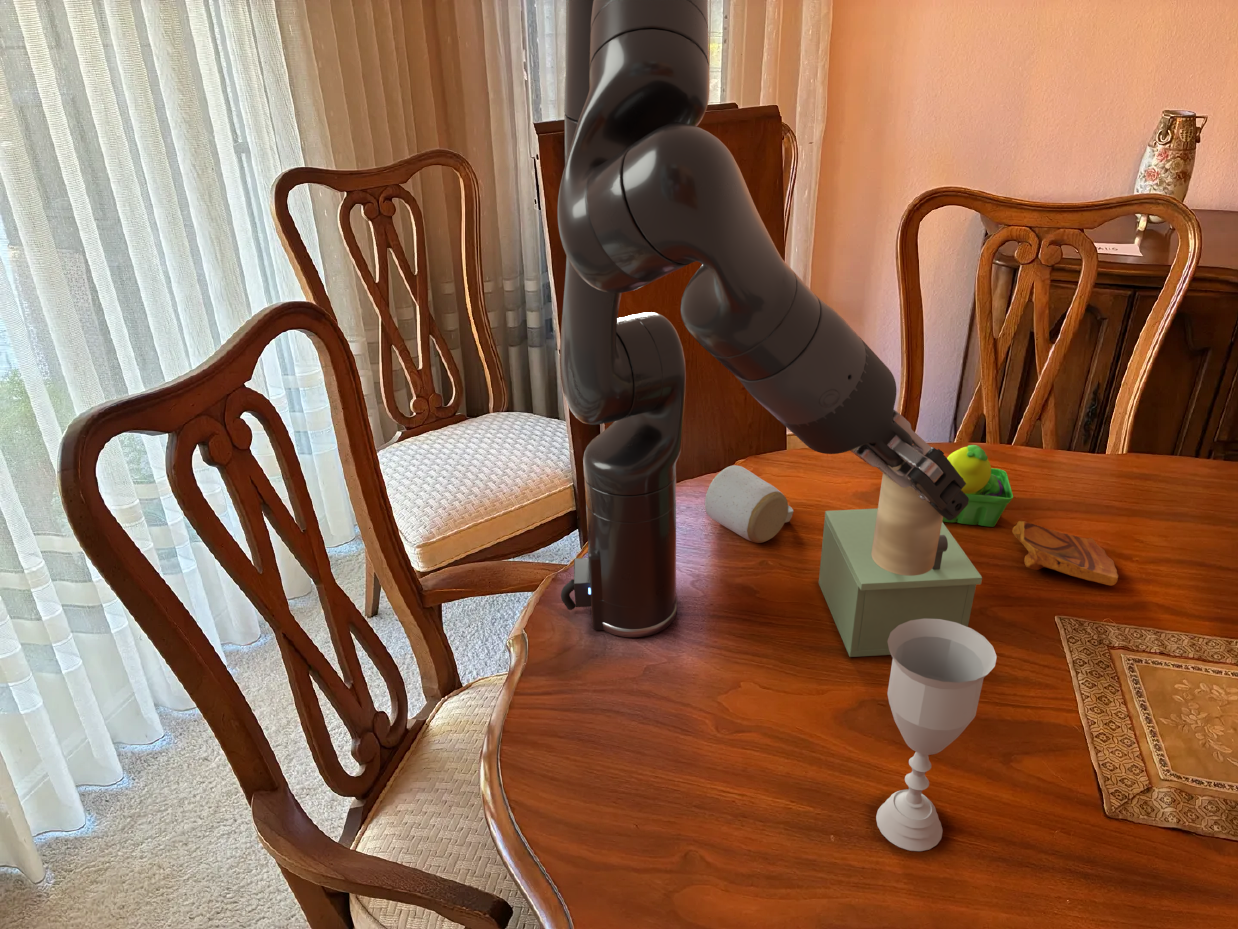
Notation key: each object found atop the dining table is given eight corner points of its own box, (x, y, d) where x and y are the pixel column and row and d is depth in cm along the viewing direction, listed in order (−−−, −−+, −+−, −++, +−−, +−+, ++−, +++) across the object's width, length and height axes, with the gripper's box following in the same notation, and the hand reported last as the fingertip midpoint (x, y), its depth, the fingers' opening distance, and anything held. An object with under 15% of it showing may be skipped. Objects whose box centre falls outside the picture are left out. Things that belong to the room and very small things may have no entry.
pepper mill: (881, 577, 66) (898, 469, 61) (863, 542, 70) (878, 438, 66) (943, 574, 66) (964, 466, 61) (922, 540, 70) (940, 436, 66)
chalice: (939, 787, 72) (973, 616, 63) (971, 858, 66) (1014, 679, 57) (852, 792, 72) (875, 620, 63) (876, 863, 66) (905, 685, 57)
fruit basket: (998, 502, 112) (1015, 424, 106) (1008, 539, 104) (1026, 457, 99) (907, 494, 114) (918, 417, 109) (910, 529, 107) (922, 448, 101)
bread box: (963, 651, 87) (977, 580, 82) (849, 657, 86) (858, 586, 82) (919, 578, 98) (929, 512, 94) (818, 583, 97) (824, 517, 93)
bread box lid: (981, 584, 82) (989, 545, 80) (860, 590, 81) (865, 552, 79) (930, 511, 94) (935, 476, 91) (824, 517, 93) (827, 481, 91)
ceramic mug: (749, 555, 103) (753, 500, 99) (702, 527, 108) (704, 474, 105) (808, 525, 108) (813, 472, 105) (760, 500, 114) (764, 449, 111)
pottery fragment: (1011, 517, 103) (1104, 512, 100) (1011, 549, 105) (1102, 544, 102) (1029, 567, 94) (1131, 562, 91) (1028, 600, 96) (1128, 597, 93)
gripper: (923, 365, 50) (1038, 498, 60) (791, 298, 62) (905, 418, 71) (837, 463, 51) (965, 579, 61) (723, 378, 63) (845, 487, 72)
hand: (932, 491), depth 66 cm, fingers closed on pepper mill, 5 cm apart
